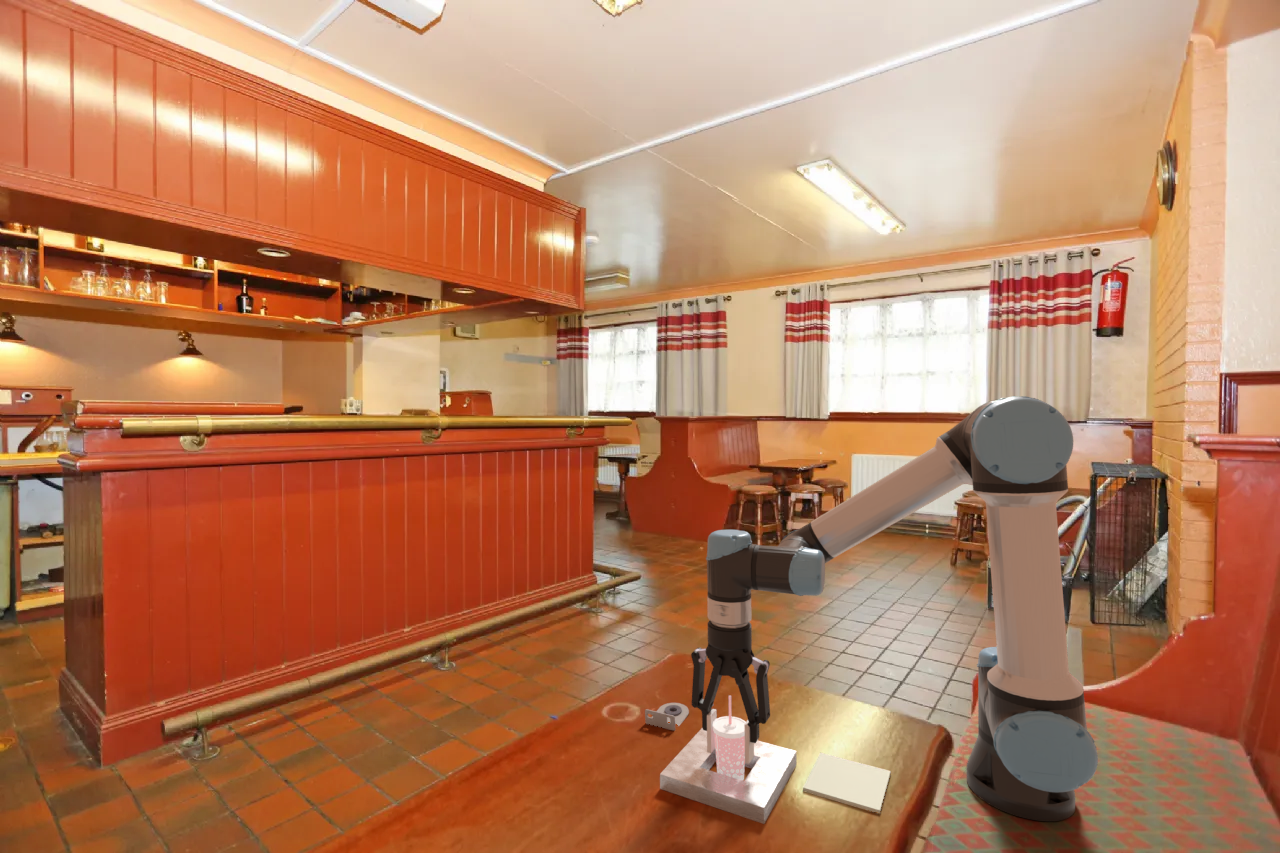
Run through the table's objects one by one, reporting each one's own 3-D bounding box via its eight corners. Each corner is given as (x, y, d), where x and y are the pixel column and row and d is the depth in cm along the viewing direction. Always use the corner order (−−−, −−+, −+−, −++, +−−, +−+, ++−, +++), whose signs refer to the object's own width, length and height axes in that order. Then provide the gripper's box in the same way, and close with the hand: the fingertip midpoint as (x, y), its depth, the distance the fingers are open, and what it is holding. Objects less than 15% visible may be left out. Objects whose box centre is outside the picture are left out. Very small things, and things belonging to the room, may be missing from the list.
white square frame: (796, 764, 108) (796, 750, 108) (764, 824, 92) (764, 807, 92) (703, 738, 117) (703, 726, 117) (660, 788, 101) (659, 773, 101)
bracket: (693, 711, 129) (693, 694, 129) (674, 733, 120) (674, 716, 120) (665, 704, 132) (665, 689, 132) (644, 726, 123) (644, 709, 123)
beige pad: (890, 774, 105) (890, 771, 105) (879, 814, 94) (879, 810, 94) (820, 755, 111) (820, 752, 111) (802, 791, 100) (802, 787, 100)
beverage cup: (755, 781, 103) (754, 700, 103) (724, 790, 100) (723, 707, 100) (736, 763, 108) (735, 685, 108) (706, 771, 106) (705, 691, 106)
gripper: (670, 619, 105) (671, 750, 106) (777, 637, 96) (778, 781, 97) (687, 607, 112) (688, 730, 112) (790, 623, 103) (791, 757, 103)
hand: (730, 753), depth 104 cm, fingers closed on beverage cup, 6 cm apart
